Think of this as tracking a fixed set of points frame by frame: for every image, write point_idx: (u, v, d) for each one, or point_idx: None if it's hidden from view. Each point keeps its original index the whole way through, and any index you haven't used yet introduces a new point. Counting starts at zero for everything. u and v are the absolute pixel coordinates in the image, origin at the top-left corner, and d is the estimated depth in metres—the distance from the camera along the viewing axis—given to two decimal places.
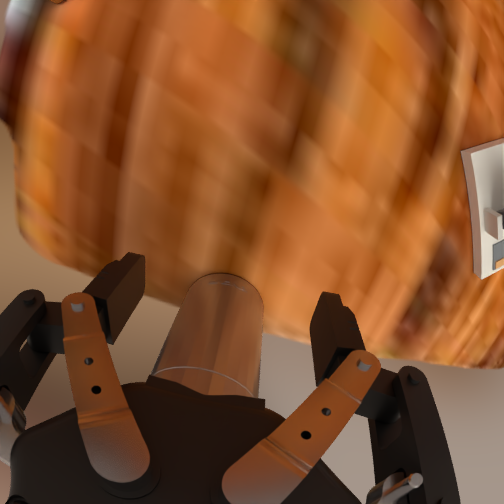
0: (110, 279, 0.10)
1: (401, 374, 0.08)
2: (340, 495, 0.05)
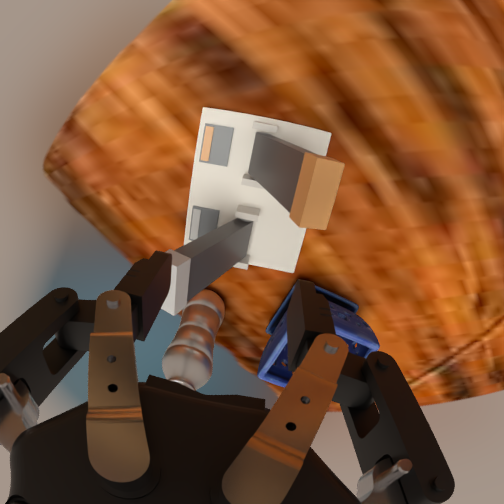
0: (142, 277, 0.11)
1: (369, 361, 0.09)
2: (340, 495, 0.05)
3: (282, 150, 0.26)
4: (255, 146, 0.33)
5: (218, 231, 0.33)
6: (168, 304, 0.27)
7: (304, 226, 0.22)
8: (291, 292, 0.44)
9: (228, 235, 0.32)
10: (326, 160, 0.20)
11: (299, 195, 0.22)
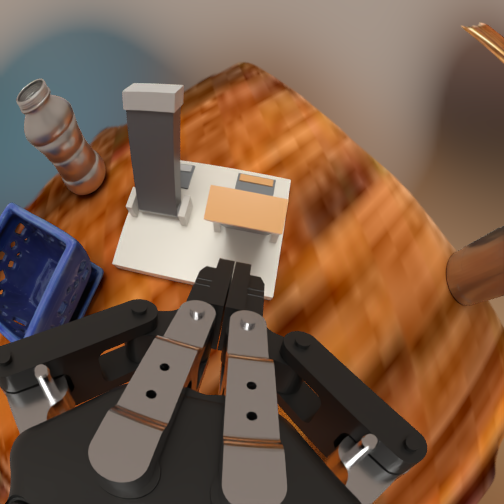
0: (217, 285, 0.11)
1: (288, 345, 0.09)
2: (340, 495, 0.05)
3: None
4: None
5: (178, 166, 0.31)
6: (134, 88, 0.23)
7: (211, 191, 0.20)
8: (89, 262, 0.34)
9: (174, 172, 0.30)
10: (285, 210, 0.20)
11: None
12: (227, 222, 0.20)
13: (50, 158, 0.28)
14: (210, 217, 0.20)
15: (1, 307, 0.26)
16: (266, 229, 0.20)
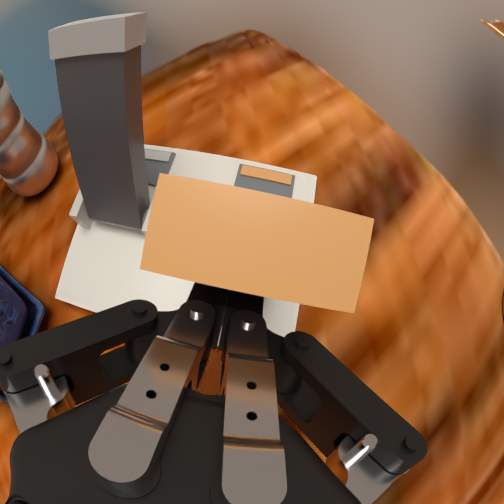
0: None
1: (288, 345, 0.09)
2: (340, 495, 0.05)
3: None
4: None
5: (140, 150, 0.18)
6: (67, 24, 0.10)
7: (160, 190, 0.07)
8: (28, 293, 0.21)
9: (131, 160, 0.17)
10: (365, 249, 0.07)
11: None
12: (204, 281, 0.07)
13: None
14: (157, 265, 0.07)
15: None
16: (314, 302, 0.07)
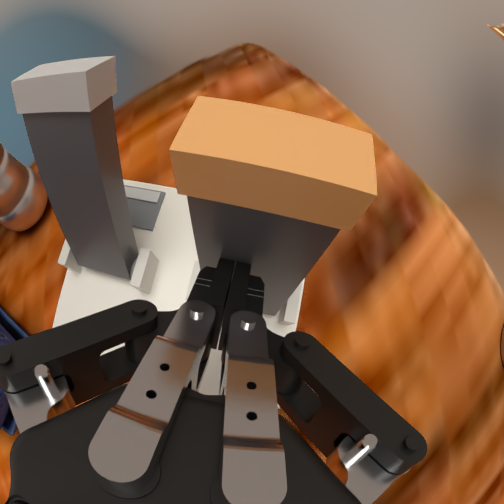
0: (217, 285, 0.11)
1: (288, 345, 0.09)
2: (340, 495, 0.05)
3: None
4: None
5: (122, 206, 0.17)
6: (31, 74, 0.09)
7: (197, 104, 0.08)
8: (23, 334, 0.20)
9: (112, 220, 0.16)
10: (371, 151, 0.08)
11: None
12: (232, 158, 0.07)
13: None
14: (187, 147, 0.07)
15: None
16: (338, 180, 0.07)
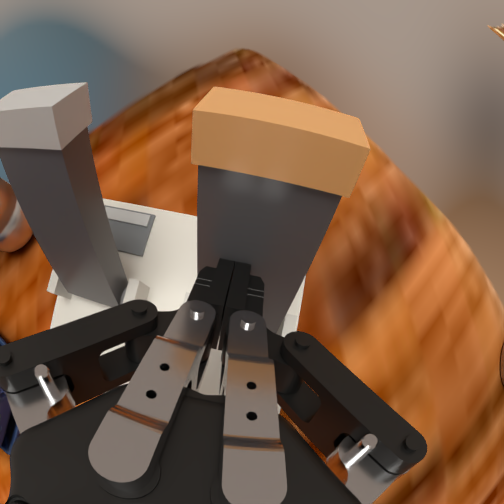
0: (216, 285, 0.11)
1: (287, 345, 0.09)
2: (340, 495, 0.05)
3: None
4: None
5: (107, 239, 0.16)
6: (1, 104, 0.08)
7: (214, 90, 0.09)
8: None
9: (97, 256, 0.15)
10: (360, 126, 0.09)
11: None
12: (247, 117, 0.08)
13: None
14: (208, 110, 0.08)
15: None
16: (336, 136, 0.08)
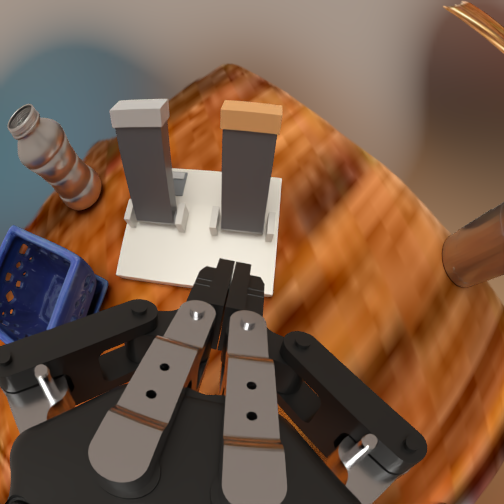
0: (216, 285, 0.11)
1: (288, 345, 0.09)
2: (340, 495, 0.05)
3: None
4: None
5: (170, 176, 0.32)
6: (121, 106, 0.24)
7: (225, 101, 0.25)
8: None
9: (167, 183, 0.31)
10: (281, 108, 0.25)
11: None
12: (239, 110, 0.24)
13: (46, 179, 0.30)
14: (226, 109, 0.24)
15: (13, 326, 0.28)
16: (269, 113, 0.24)
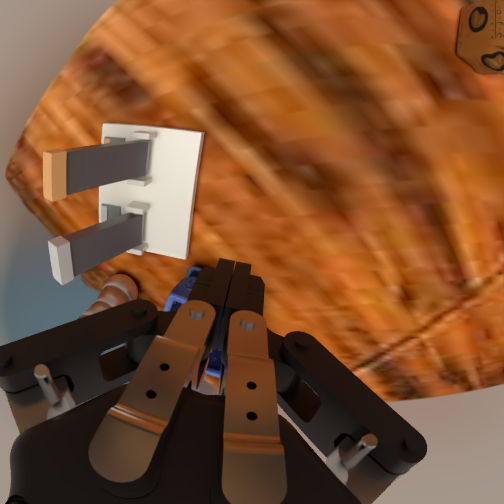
0: (216, 285, 0.11)
1: (288, 345, 0.09)
2: (340, 495, 0.05)
3: None
4: None
5: (105, 223, 0.38)
6: (58, 276, 0.31)
7: (45, 196, 0.27)
8: (186, 277, 0.48)
9: (110, 226, 0.37)
10: (45, 152, 0.25)
11: None
12: (51, 187, 0.26)
13: None
14: (51, 197, 0.27)
15: None
16: (50, 163, 0.25)
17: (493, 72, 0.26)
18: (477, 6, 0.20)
